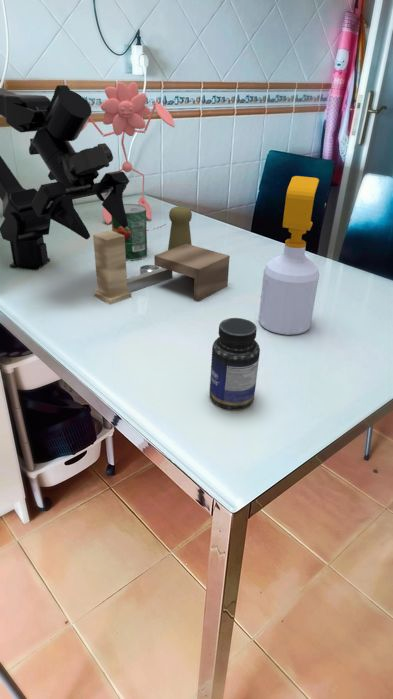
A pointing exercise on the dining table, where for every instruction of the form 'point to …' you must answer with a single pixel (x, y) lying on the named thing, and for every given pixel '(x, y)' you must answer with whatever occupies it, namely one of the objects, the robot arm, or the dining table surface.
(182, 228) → the olive pawn figure
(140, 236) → the canned tomato
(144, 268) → the steel token
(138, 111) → the pink daisy figurine
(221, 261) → the plinth
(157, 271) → the blade tool
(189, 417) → the dining table surface
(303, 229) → the soap bottle
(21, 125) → the robot arm
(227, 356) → the pill bottle
